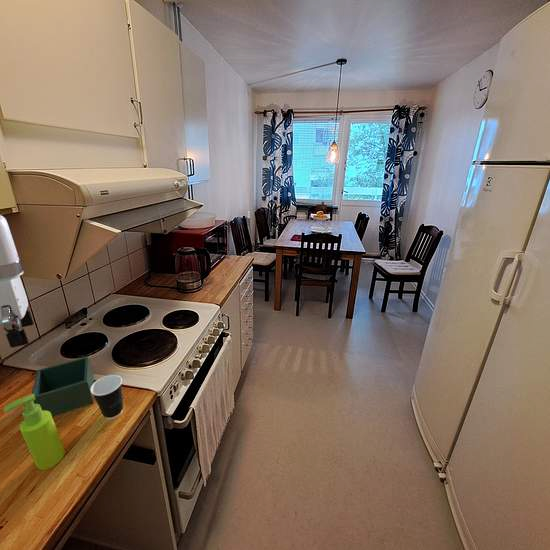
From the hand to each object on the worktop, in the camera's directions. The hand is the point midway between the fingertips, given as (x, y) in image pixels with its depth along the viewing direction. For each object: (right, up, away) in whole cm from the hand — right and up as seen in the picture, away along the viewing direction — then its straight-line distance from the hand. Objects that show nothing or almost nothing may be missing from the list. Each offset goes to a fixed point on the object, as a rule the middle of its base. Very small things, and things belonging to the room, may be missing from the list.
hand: (23, 335), depth 70 cm
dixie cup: (+14, -27, +15) cm, 34 cm away
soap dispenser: (+5, -32, +2) cm, 32 cm away
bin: (-4, -24, +21) cm, 32 cm away
